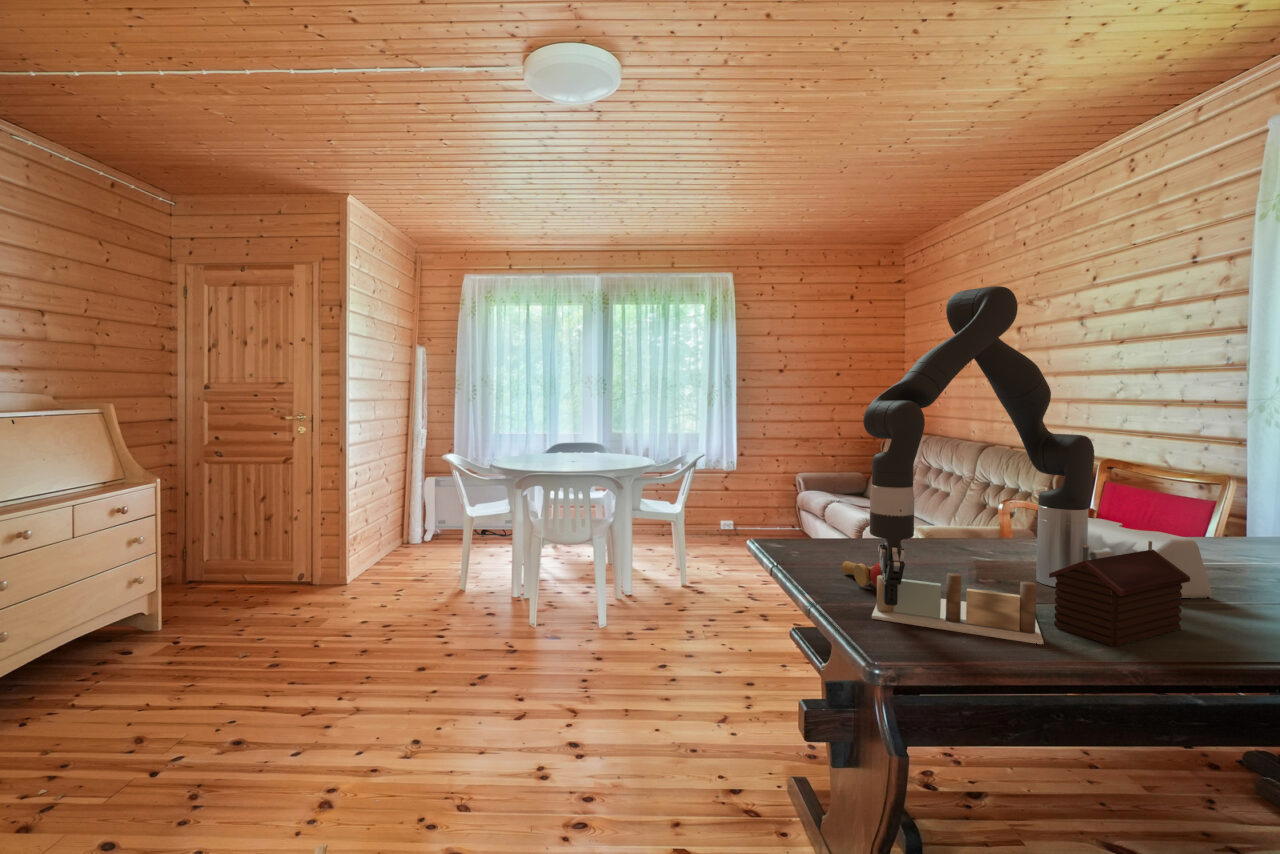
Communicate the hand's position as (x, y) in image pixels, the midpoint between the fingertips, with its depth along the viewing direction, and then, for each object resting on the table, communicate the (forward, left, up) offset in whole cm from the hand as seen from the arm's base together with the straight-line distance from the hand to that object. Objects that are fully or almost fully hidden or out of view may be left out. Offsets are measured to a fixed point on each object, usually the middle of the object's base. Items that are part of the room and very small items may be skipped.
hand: (890, 603), depth 114 cm
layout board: (-10, -9, -3) cm, 14 cm away
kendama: (+7, -23, -3) cm, 24 cm away
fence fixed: (-16, -4, -3) cm, 17 cm away
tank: (-44, -51, -4) cm, 68 cm away
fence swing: (-3, -4, -3) cm, 6 cm away
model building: (-36, -15, -4) cm, 40 cm away
